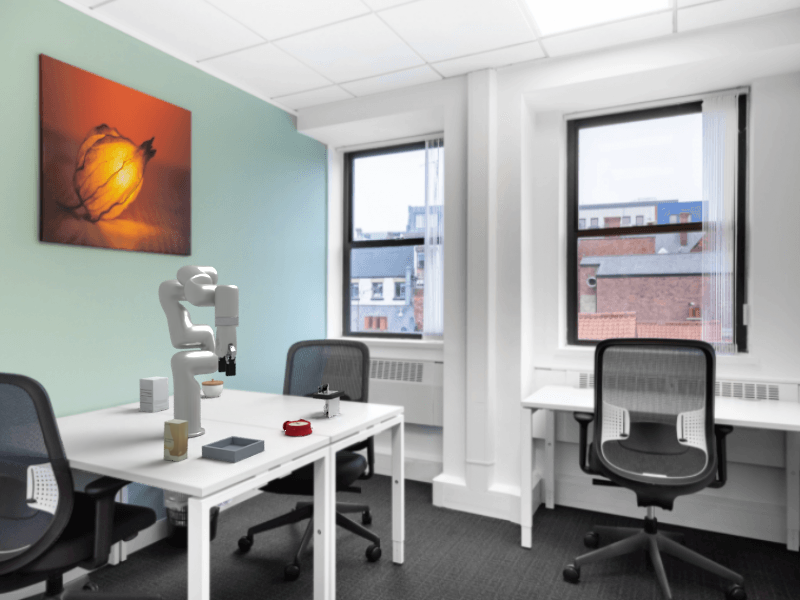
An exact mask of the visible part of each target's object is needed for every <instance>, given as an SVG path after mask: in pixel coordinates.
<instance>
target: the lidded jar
mask: <svg viewBox="0 0 800 600" xmlns="http://www.w3.org/2000/svg"><path fill="white" fill-rule="evenodd" d="M201 389H202V391H201V392H202V393H203V395H204V396H205V397H206V398H207V399H213V398H214V399H215V397H216V398H219V397H220V395H221V394H222V393H223V389H224V380H215V379H214V378H211V380H206V381H205V380H204V381H202V382H201Z"/></svg>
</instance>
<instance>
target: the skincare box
mask: <svg viewBox="0 0 800 600" xmlns="http://www.w3.org/2000/svg"><path fill="white" fill-rule="evenodd" d="M163 426H164V427H163V460H165V461H166V460H167V461H172V460H173V461H174V462H181V461H183V460H186V459H188V458H189V456H188V454H189V453H188V452H189V448H188V447H189V445H188V444H189V437H188V421H185V420H177V419H174V418H173V419H169V420H166V421H164V422H163ZM185 458H186V459H185ZM180 460H181V461H180ZM173 461H172V462H173Z"/></svg>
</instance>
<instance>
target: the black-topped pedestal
mask: <svg viewBox="0 0 800 600" xmlns="http://www.w3.org/2000/svg"><path fill="white" fill-rule="evenodd" d="M329 388H330V384H329V383H326V384H322V385H321V386H317V391H316V392H314V393H313V394H312V399H315V400H324V401H325V405H324V406H323V415H326V414H327V412H328V416H327V417H329V418H332V417H334V416H333V415H335V416H337V415H340V414H339V413H341V412H340V409H341V408H340V403H341V402H340V397H344V396H345V393H346V392H345V390H341V389H340V390H339V389H329ZM336 414H337V415H336ZM331 416H332V417H331Z"/></svg>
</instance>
